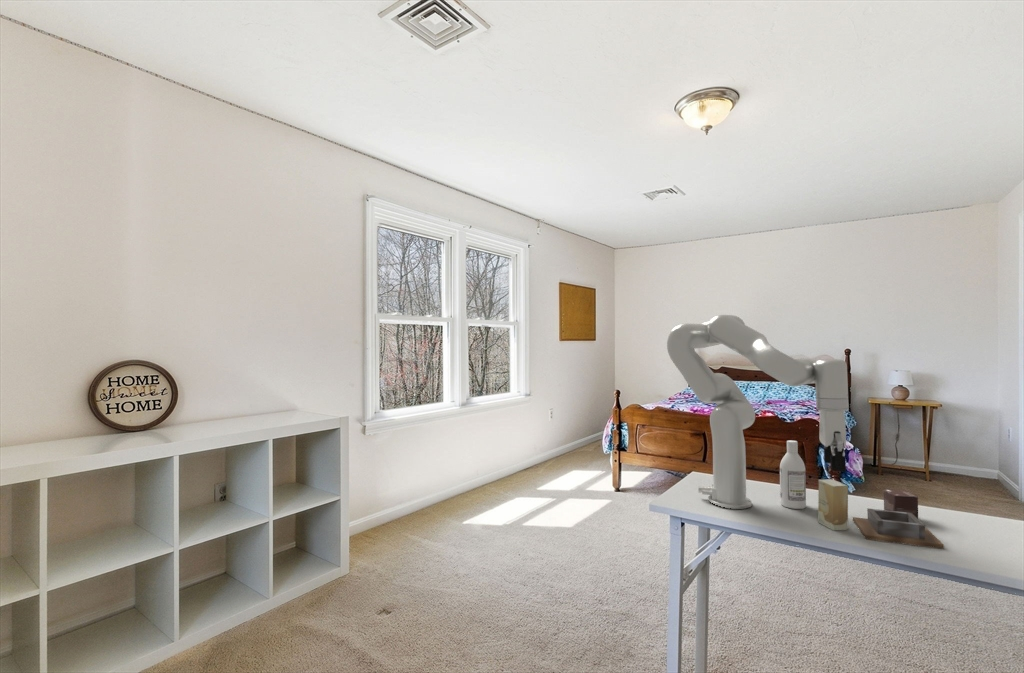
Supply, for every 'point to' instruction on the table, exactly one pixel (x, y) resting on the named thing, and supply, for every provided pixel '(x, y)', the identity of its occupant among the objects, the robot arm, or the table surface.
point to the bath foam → (792, 478)
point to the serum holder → (896, 528)
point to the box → (901, 501)
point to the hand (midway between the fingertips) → (834, 466)
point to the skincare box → (833, 504)
